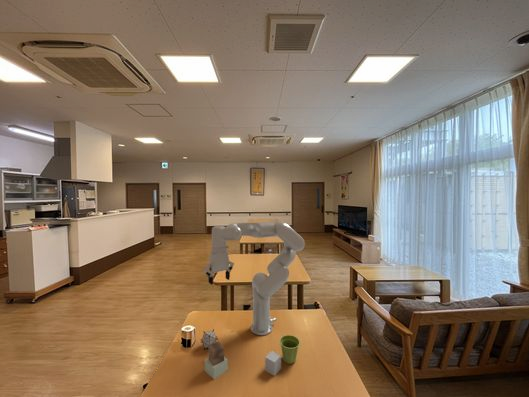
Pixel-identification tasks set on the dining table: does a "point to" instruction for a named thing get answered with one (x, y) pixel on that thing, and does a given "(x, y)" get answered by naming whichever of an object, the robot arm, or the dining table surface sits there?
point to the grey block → (273, 363)
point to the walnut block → (216, 353)
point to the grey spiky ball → (208, 338)
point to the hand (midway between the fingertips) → (219, 281)
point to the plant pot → (289, 348)
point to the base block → (216, 368)
